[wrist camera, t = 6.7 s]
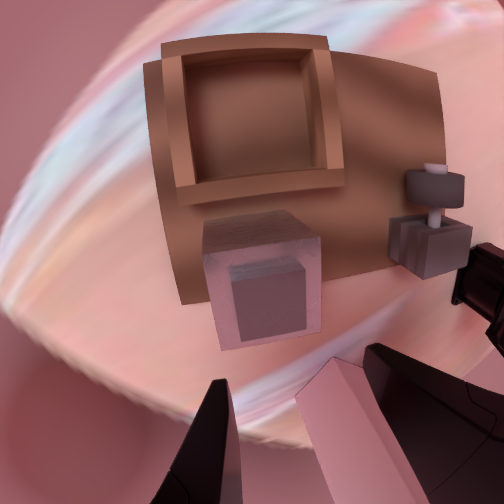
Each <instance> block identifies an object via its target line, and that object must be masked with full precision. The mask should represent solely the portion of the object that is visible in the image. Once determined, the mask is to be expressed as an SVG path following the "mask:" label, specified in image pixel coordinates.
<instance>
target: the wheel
mask: <svg viewBox="0 0 504 504" xmlns="http://www.w3.org/2000/svg"><path fill="white" fill-rule="evenodd" d="M464 179H465V176H463V175H461V174H457V173H451V172H448V165H444V164H436V163H424V170H422V169H412V170H407V200H408V201H410V202H412V203H415V204H419V205H423V206H428V207H429V210H428V226H430V227H432V228H440V223H441V208H450V209H452V208H461V207H463V205H464Z"/></svg>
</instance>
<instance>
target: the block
mask: <svg viewBox="0 0 504 504" xmlns="http://www.w3.org/2000/svg"><path fill="white" fill-rule="evenodd" d="M201 256H202V261H203V266H204V271H205V277H206V282H207V287H208V292H209V297H210V301H211V306H212V311H213V316H214V320H215V325H216V329H217V334H218V338H219V343H220V347H221V351H225V350H231V349H237V348H243V347H249V346H255V345H260V344H266V343H271V342H276V341H281V340H286V339H290V338H295V337H300V336H304V335H309V334H313V333H317V332H321V236H319V235H318V234H317V233H315V232H314V231H313V230H311V229H310V228H309V227H308V226H306V225H305V224H304V223H302V222H301V221H300V220H298V219H297V218H296V217H294V216H293V215H291V214H290V213H289V212H287V211H286V210H285V209H282V210H274V211H267V212H259V213H252V214H245V215H238V216H231V217H225V218H218V219H212V220H205V221H204V224H203V238H202V253H201Z"/></svg>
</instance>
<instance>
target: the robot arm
mask: <svg viewBox="0 0 504 504" xmlns="http://www.w3.org/2000/svg"><path fill="white" fill-rule="evenodd" d="M462 302H464V303H465V304H466V305H468V306H469V307H470V308H472V309H473V310H474V311H476V312H477V313H478V314H480V315H481V316H482V317H484V318H485V319H486V320H488V321H489V322H490V323H491V324H490V326H489V328H488V329H487V330H486V332H485V334H486V335H487V337H488V338H489V340H490V341H491V342H492V344H493V345H494V346H495V347H496V348H497V350H498V351H499V352H500V354H501V355H502V356H503V357H504V250H502V249H500V248H498V247H496V246H494V245H493V244H491V243H483V244H480V245H477V246H475V247H473V248H470V251H469V257H468V263H467V266H465V267H462V268H459V270H458V276H457V280H456V285H455V290H454V294H453V298H452V304H453V305H458V304H460V303H462ZM363 370H364V373H365V375H366V378H367V380H368V382H369V385H370V387H371V390H372V392H373V395H374V397H375V399H376V402H377V404H378V406H379V408H380V410H381V412H382V414H383V416H384V417H385V419H386V421H387V423H388V425H389V427H390V428H391V430H392V432H393V434H394V436H395V438H396V439H397V441H398V443H399V445H400V447H401V449H402V451H403V452H404V454H405V456H406V458H407V460H408V462H409V464H410V466H411V468H412V469H413V471H414V473H415V475H416V477H417V479H418V481H419V483H420V485H421V487H422V489H423V491H424V493H425V495H426V497H427V499H428V501H429V503H430V504H504V395H502V394H498V393H495V392H492V391H489V390H486V389H483V388H481V387H478V386H475V385H473V384H471V383H468V382H465V381H464V380H461V379H459V378H456V377H454V376H452V375H450V374H447V373H445V372H443V371H440V370H438V369H436V368H433V367H431V366H429V365H427V364H424V363H422V362H420V361H418V360H415V359H413V358H411V357H409V356H407V355H404V354H402V353H400V352H398V351H396V350H393V349H391V348H389V347H387V346H385V345H383V344H380V343H374V344H371V345H368V346H367V347H366V348H365V353H364V359H363ZM150 504H243V499H242V481H241V460H240V443H239V436H238V431H237V425H236V420H235V414H234V408H233V402H232V397H231V393H230V389H229V385H228V381H227V379H225V378H224V379H217V380H213V381H212V382H211V385H210V387H209V389H208V391H207V393H206V395H205V397H204V399H203V401H202V403H201V406H200V408H199V410H198V412H197V414H196V416H195V418H194V420H193V422H192V424H191V426H190V428H189V430H188V432H187V435H186V437H185V439H184V441H183V443H182V445H181V447H180V449H179V451H178V453H177V455H176V457H175V459H174V461H173V463H172V465H171V467H170V471H168V473H167V475H166V477H165V479H164V481H163V483H162V484H161V486H160V488H159V490H158V491H157V493H156V495H155V497H154V498H153V500H152V501H151V503H150Z"/></svg>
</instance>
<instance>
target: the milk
mask: <svg viewBox="0 0 504 504" xmlns="http://www.w3.org/2000/svg"><path fill="white" fill-rule="evenodd" d="M295 399H296V402H297V405H298V407H299V410H300V413H301V415H302V418H303V421H304V423H305V426H306V429H307V432H308V434H309V437H310V440H311V442H312V445H313V448H314V450H315V453H316V456H317V458H318V461H319V463H320V466H321V469H322V471H323V474H324V477H325V479H326V482H327V485H328V487H329V490H330V492H331V495H332V498H333V500H334V503H335V504H430V503H429V501H428V499H427V497H426V495H425V493H424V491H423V489H422V487H421V485H420V483H419V481H418V479H417V477H416V475H415V473H414V471H413V469H412V468H411V466H410V464H409V462H408V460H407V458H406V456H405V454H404V452H403V451H402V449H401V447H400V445H399V443H398V441H397V439H396V438H395V436H394V434H393V432H392V430H391V428H390V427H389V425H388V423H387V421H386V419H385V417H384V416H383V414H382V412H381V410H380V408H379V406H378V404H377V402H376V399H375V397H374V395H373V392H372V390H371V387H370V385H369V382H368V380H367V378H366V375H365V373H364V370H363V368H361V367H358V366H355V365H353V364H350V363H347V362H345V361H342V360H340V359H337V358H334V357H332V358H331V359H330V360H329V361H328V362H327V364H326V365H325V366H324V367H323V368H322V369H321V370H320V371H319V372H318V373H317V374H316V375H315V376H314V377H313V379H312V380H311V381H310V382H309V383H308V384H307V385H306V386H305V387H304V388H303V389H302V390H301V391H300V392H299V393H298V394H297V395H296V396H295Z"/></svg>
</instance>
